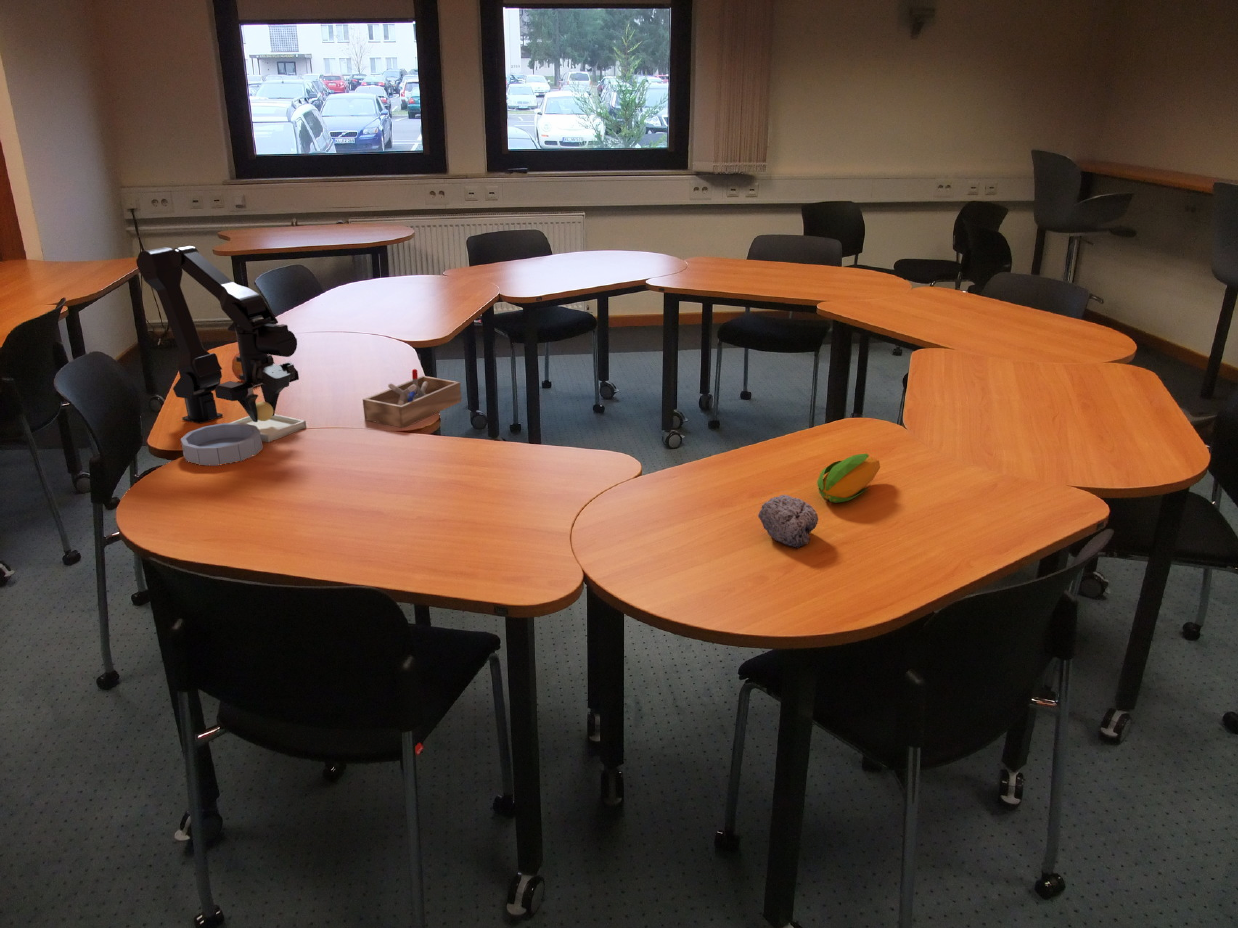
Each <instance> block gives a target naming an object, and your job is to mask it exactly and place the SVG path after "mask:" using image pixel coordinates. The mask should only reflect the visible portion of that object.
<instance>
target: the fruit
mask: <svg viewBox="0 0 1238 928" xmlns="http://www.w3.org/2000/svg"><path fill="white" fill-rule="evenodd" d="M238 356H240V354H239V352H238V353H236V354H235V355H234V356H233V359H232V361H231V370H232V373H233V375H234V376H235V377H236V379H238V381H241V383H242V382H244V380H240V378H239V375H241V374H243V372H242V366H241V362H237V360H236V357H238Z"/></svg>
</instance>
